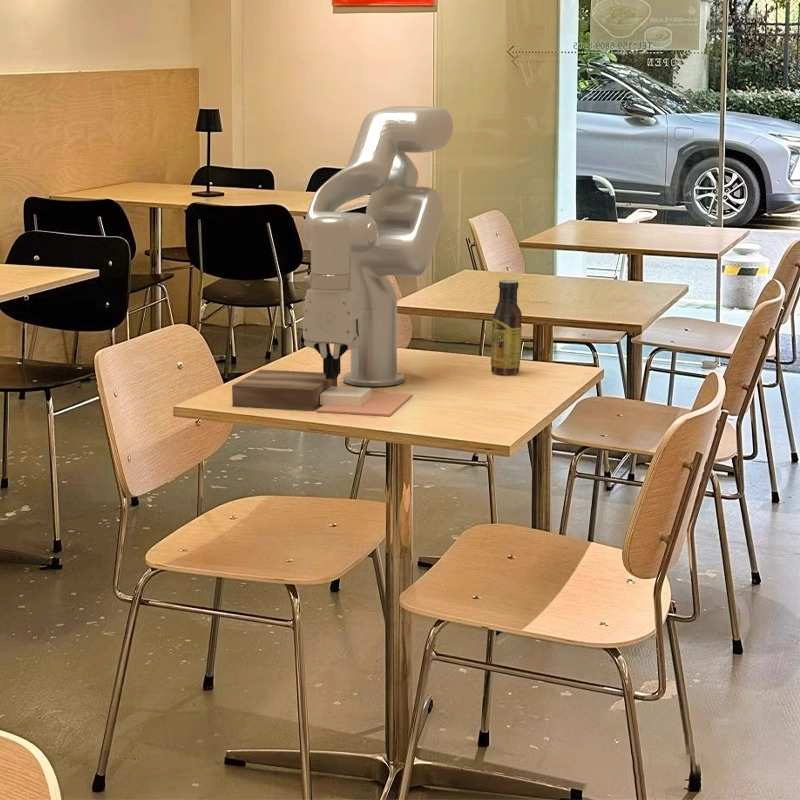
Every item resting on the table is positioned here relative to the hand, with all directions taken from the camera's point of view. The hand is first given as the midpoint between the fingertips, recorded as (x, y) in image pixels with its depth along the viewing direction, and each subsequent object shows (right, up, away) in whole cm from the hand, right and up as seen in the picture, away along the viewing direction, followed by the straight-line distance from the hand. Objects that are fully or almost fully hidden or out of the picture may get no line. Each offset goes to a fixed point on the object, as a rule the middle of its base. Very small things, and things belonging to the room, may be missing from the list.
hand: (331, 377), depth 261 cm
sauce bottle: (+36, +1, +29) cm, 46 cm away
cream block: (+3, -5, 0) cm, 5 cm away
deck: (-9, -4, +3) cm, 10 cm away
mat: (+7, -5, -1) cm, 8 cm away
